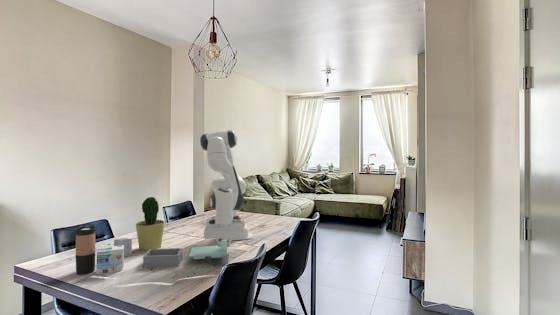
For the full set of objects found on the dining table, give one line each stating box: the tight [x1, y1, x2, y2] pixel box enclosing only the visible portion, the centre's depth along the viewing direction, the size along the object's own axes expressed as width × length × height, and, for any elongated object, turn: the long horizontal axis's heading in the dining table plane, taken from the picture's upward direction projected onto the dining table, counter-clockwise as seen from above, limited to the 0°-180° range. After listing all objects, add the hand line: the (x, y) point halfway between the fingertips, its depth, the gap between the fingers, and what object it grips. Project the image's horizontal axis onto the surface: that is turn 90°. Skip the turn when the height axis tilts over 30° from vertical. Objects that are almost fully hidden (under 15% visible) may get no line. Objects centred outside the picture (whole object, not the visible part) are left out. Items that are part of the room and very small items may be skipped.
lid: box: [188, 239, 228, 260], centre depth 153 cm, size 18×14×6 cm
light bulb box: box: [95, 245, 125, 275], centre depth 139 cm, size 11×7×11 cm, turn 114°
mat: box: [210, 253, 230, 267], centre depth 154 cm, size 19×15×1 cm
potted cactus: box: [135, 196, 165, 251], centre depth 173 cm, size 15×15×30 cm
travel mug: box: [75, 226, 96, 276], centre depth 138 cm, size 8×8×20 cm
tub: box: [142, 247, 183, 269], centre depth 148 cm, size 16×11×6 cm
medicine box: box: [113, 237, 133, 258], centre depth 160 cm, size 8×4×9 cm, turn 71°
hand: (223, 246), depth 155 cm, fingers closed on lid, 3 cm apart
